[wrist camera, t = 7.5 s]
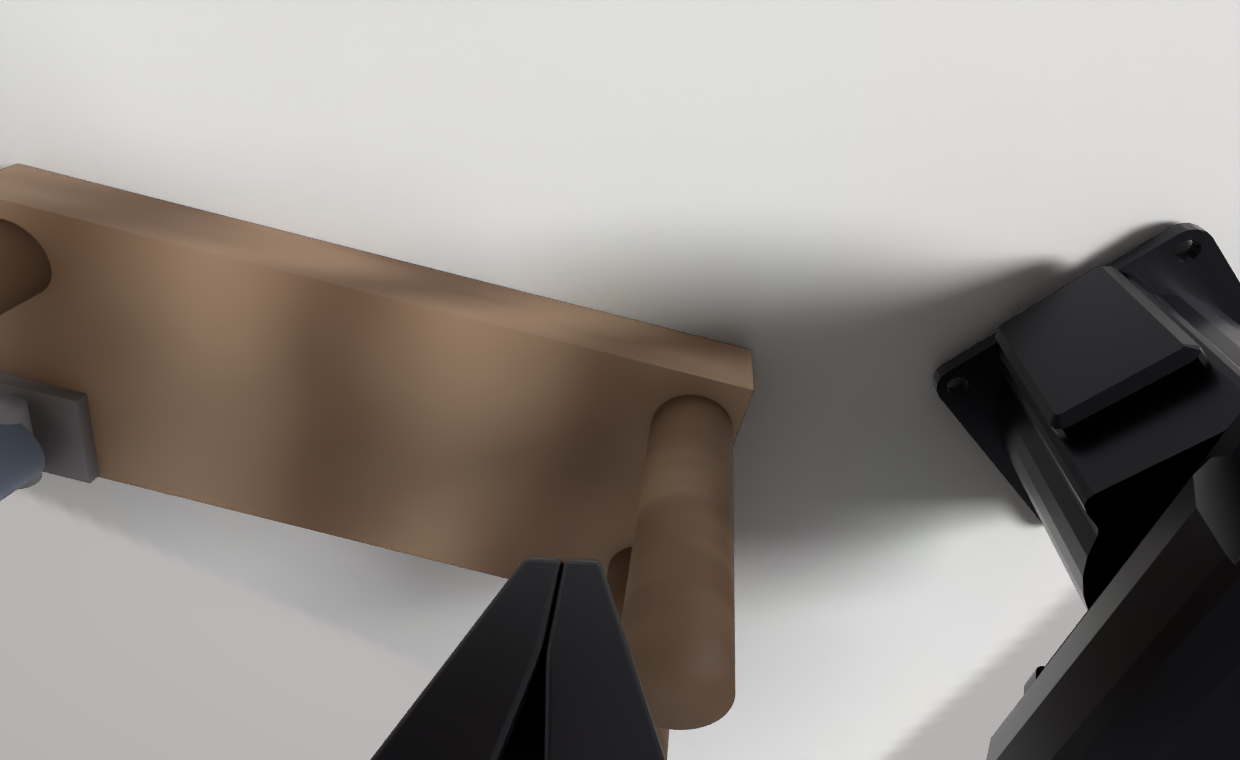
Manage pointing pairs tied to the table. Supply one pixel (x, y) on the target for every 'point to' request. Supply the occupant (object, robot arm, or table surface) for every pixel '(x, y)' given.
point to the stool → (383, 407)
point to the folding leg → (18, 447)
